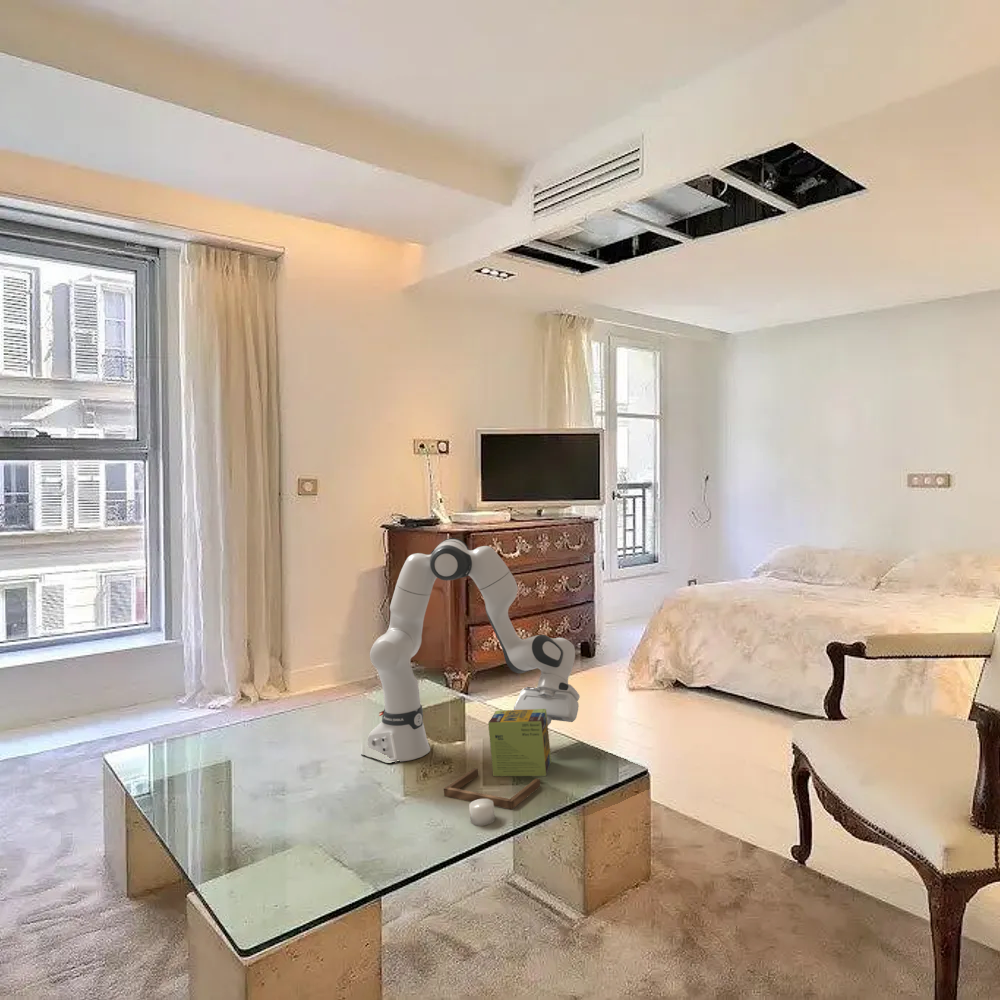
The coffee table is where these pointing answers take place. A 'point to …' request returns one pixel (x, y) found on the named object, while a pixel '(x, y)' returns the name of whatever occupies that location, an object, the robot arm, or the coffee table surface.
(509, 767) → the protein box
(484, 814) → the white rounded block
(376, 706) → the coffee table surface
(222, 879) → the coffee table surface
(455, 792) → the open wooden frame
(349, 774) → the coffee table surface
